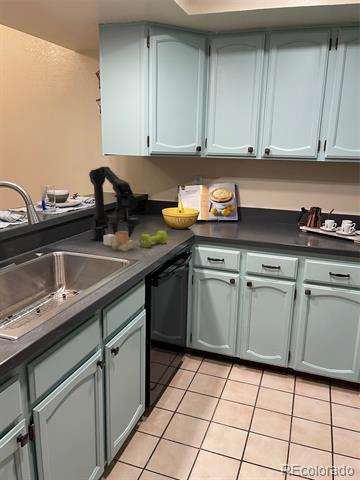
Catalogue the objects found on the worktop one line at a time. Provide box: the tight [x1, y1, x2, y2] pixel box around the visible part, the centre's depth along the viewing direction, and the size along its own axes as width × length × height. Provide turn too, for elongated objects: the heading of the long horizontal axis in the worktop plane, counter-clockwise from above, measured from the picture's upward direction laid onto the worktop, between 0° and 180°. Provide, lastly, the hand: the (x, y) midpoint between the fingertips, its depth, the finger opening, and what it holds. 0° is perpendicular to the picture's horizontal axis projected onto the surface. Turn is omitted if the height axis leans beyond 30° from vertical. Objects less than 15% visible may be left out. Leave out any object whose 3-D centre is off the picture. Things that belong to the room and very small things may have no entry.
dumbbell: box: [139, 230, 168, 249], centre depth 211 cm, size 16×8×7 cm, turn 140°
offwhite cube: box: [103, 233, 116, 247], centre depth 211 cm, size 5×5×5 cm
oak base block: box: [111, 239, 134, 252], centre depth 203 cm, size 8×8×4 cm
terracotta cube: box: [116, 230, 130, 243], centre depth 202 cm, size 5×5×5 cm
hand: (122, 236), depth 202 cm, fingers open, 9 cm apart
